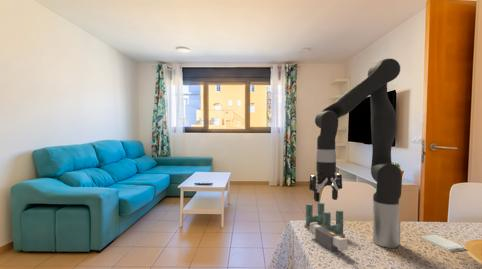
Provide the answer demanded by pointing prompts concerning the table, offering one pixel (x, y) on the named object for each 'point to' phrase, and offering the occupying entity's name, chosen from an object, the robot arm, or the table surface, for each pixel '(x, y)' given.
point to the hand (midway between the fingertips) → (325, 200)
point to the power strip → (328, 238)
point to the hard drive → (442, 243)
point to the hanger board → (324, 219)
